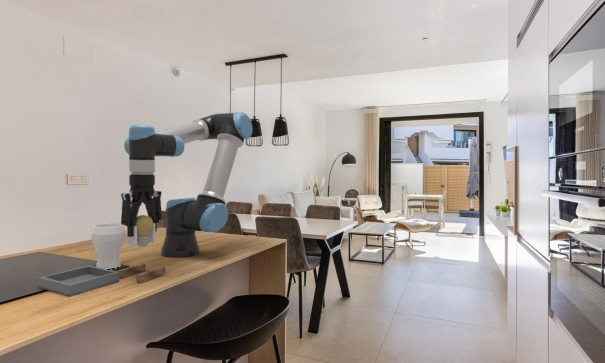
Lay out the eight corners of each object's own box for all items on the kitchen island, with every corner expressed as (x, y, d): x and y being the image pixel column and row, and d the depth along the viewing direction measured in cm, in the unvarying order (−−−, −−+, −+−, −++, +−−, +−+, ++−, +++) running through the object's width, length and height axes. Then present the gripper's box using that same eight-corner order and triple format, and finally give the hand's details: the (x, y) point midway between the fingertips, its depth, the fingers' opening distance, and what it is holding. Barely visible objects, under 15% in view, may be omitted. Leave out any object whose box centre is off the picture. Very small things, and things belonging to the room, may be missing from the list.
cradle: (143, 270, 118) (143, 263, 118) (165, 275, 114) (165, 267, 114) (116, 278, 109) (116, 270, 109) (139, 283, 105) (139, 275, 105)
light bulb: (144, 248, 108) (144, 217, 107) (127, 247, 109) (126, 216, 108) (157, 244, 114) (157, 214, 113) (140, 242, 115) (140, 213, 115)
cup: (83, 269, 118) (84, 225, 118) (111, 261, 128) (111, 222, 128) (105, 273, 114) (105, 228, 114) (132, 265, 124) (132, 224, 124)
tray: (89, 274, 112) (89, 265, 112) (118, 281, 106) (118, 272, 106) (39, 287, 99) (39, 277, 99) (69, 296, 93) (69, 285, 93)
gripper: (158, 173, 121) (158, 237, 122) (106, 173, 103) (107, 249, 104) (173, 173, 118) (173, 240, 119) (123, 174, 100) (123, 252, 101)
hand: (142, 244), depth 111 cm, fingers closed on light bulb, 6 cm apart
